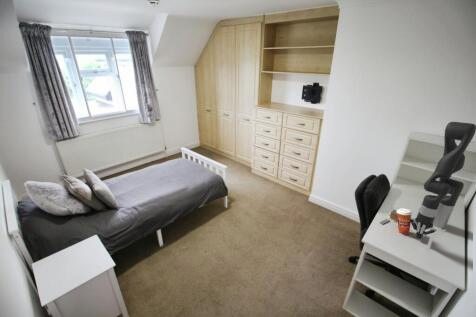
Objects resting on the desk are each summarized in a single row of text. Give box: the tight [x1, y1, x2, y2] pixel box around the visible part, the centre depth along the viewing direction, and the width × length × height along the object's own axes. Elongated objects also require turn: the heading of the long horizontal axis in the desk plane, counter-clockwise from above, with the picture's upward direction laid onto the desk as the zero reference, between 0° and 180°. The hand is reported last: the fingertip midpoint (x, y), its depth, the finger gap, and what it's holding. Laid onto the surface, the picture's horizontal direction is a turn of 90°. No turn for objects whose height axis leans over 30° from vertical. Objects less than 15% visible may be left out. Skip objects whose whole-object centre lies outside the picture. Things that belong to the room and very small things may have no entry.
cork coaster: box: [387, 214, 398, 223], centre depth 152 cm, size 8×8×1 cm
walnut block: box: [389, 208, 398, 221], centre depth 151 cm, size 5×5×5 cm
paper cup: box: [396, 208, 413, 235], centre depth 138 cm, size 8×8×14 cm
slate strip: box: [379, 218, 391, 225], centre depth 149 cm, size 8×2×1 cm, turn 118°
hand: (418, 237), depth 132 cm, fingers closed
